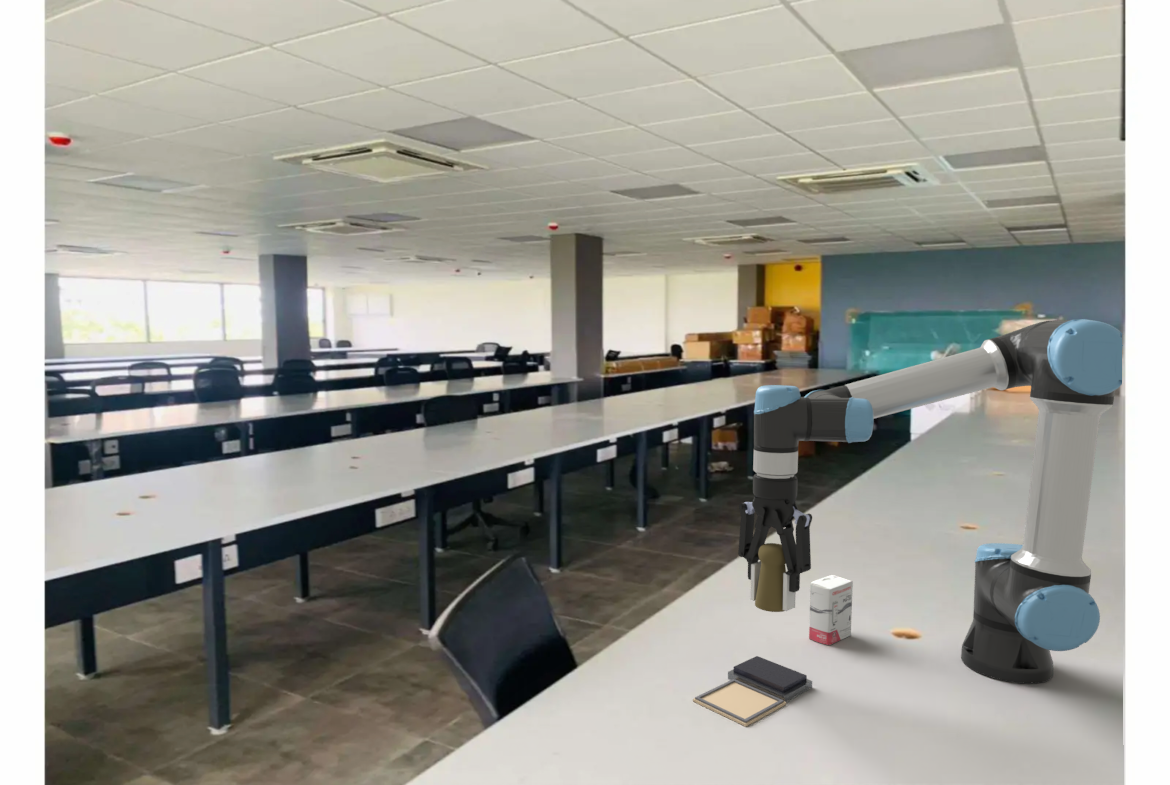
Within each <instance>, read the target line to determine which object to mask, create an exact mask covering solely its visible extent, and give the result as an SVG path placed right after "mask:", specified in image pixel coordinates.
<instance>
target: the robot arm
mask: <svg viewBox="0 0 1170 785" xmlns="http://www.w3.org/2000/svg"><path fill="white" fill-rule="evenodd" d="M1122 334H1123V332H1121V331H1120V330H1119V329H1118V328H1117V327H1115V326H1113V325H1112V324H1109V323H1106V322H1103V321H1099V320H1094V319H1093V320H1092V319H1087V318H1083V319H1082V318H1081V319H1080V318H1079V319H1067V320H1066V319H1062V320H1060V319H1059V320H1058V319H1057V320H1056V319H1055V320H1045V321H1039V322H1036V323H1033V324H1030V325H1027V326H1025V327H1024V326H1023V327H1022V328H1019V329H1017V330H1013V331H1011V332H1008V333H1005V334H1002V335H999V336H996V337H992V338H988V339H984V341H983V342H982V343H981V346H980V347H977V348H973V349H969V350H965V351H963V352H958V353H956V354H952V355H948V356H944V357H941V358H937V359H933V360H931V361H927V362H922V363H920V364H919V363H918V364H916V365H911V366H908V367H905V368H900V369H897V370H893V371H891V372H886V373H883V374H879V375H876V376H872V377H869V378H864V379H861V380H857V381H853V382H851V383H847V384H846V383H845V384H844V385H840V386H835V387H832V388H829V389H817V390H812V391H810V392H809V393H807V394H805V396H801V393H800V392H801V390H800V388H799V387H797V386H795V385H785V384H784V385H783V384H776V385H775V384H766V385H761V386H759V387H758V388H757V389H756V391H755V399H754V410H753V460H752V461H753V465H752V471H753V472H755V474H754V475H753V476H752V493H753V495H754V497H753V499H752V501H745V502H741V503H739V505H738V509H739V513H740V524H739V525H740V526H739V538H738V552H737V554H738V556H739V557H740V558H744V559H745V560H746V562H747V578H748V580H749V581H750V598H749V599H750V601H754V602H755V600H756V594H757V587H758V581H759V574H760V568H761V561H760V560H759V556H758V551H759V548H760V547H761V545H763V544H766V540H767V537H768V534H769V530H770V529H771V528H773V529H775V532H776V534H777V535H778V536H779V540H780V544H781V545H782V549H783V553H784V558H785V562H786V564H785V567H786V572H785V573H783V610H784V611H783V612H787V611H790V610H792V609H795V608H796V598H797V596H796V592H798V591H800V588H801V587H800V584H801V583H800V581H801V574H803V573H805V572H808V571H811V569H812V564H811V563H812V562H811V560H812V558H811V535H810V534H811V532H810V530H811V529H810V527H811V524H812V521H813V515H812V514H811V513H804V512H802V511H800V510H799V508H798V505H797V503H796V502H797V497H798V483H799V482H798V479H799V477H797V475H796V474H797V473H798V470H799V469H798V468H799V465H798V464H799V442H802V441H803V442H809V441H811V442H812V441H813V442H814V441H815V442H838V443H839V442H840V443H841V442H843V443H848V444H851V443H858V442H861V443H862V442H866V441H869V440H870V438H871V437H872V435H873V430H874V421H875V420H874V419H877V418H881V417H886V416H888V415H892V414H897V413H900V412H904V411H908V410H911V409H912V410H913V409H915V408H919V407H923V406H926V405H930V404H934V403H938V402H942V401H946V400H949V399H953V398H957V397H960V396H965V395H968V394H973V393H975V392H980V391H985V390H987V389H991V388H995V389H997V390H998V391H1006V390H1010V389H1013V388H1017V387H1018V388H1019V387H1030V394H1029V395H1030V396H1029V399H1030V401H1031V402H1032V403H1033V404H1035V406H1036V407H1037V409H1038V416H1037V424H1036V430H1035V438H1034V439H1035V440H1034V448H1033V456H1032V464H1031V475H1030V482H1029V490H1028V500H1027V507H1026V515H1025V516H1026V517H1025V523H1024V531H1023V540H1022V544H1019V543H1018V544H1016V543H1003V542H1001V543H1000V542H998V543H997V542H991V543H983V544H981V545H979V547H977V549H976V555H975V560H974V565H975V566H974V568H975V570H974V590H973V591H974V592H973V593H974V594H973V614H972V617H973V618H972V622H971V623H970V626H969V629H968V631H967V633H966V635H965V637H964V640H963V642H962V644H961V655H960V658H961V661H962V663H964V665H965V666H967V667H968V668H969V669H971V670H973V671H974V672H976V673H979V674H981V675H983V676H986V677H988V678H992V679H996V680H999V681H1005V682H1009V683H1010V682H1011V683H1014V684H1015V683H1017V684H1040V683H1045V682H1048V681H1049V680H1051V679H1052V678H1053V676H1054V661H1053V656H1052V655H1051V651H1052V652H1066V651H1071V650H1075V649H1077V648H1079V647H1080V646H1082V645H1083V644H1085V643H1088V642H1089V641H1090V640H1091V639H1092V637H1094V635H1095V634H1096V632H1097V631H1098V628H1099V626H1100V622H1101V620H1100V619H1101V613H1100V610H1099V607H1098V604H1097V603H1096V601H1095V598H1094V597H1092V595H1091V594H1090V587H1091V577H1092V570H1091V568H1090V567H1089V566H1088V565H1087V563H1086V562H1085V561H1084V560H1083V553H1084V545H1085V538H1086V537H1085V536H1086V528H1087V520H1088V515H1089V513H1088V512H1089V506H1090V497H1091V489H1092V483H1093V482H1092V481H1093V474H1094V473H1093V472H1094V465H1095V458H1096V457H1095V456H1096V451H1097V442H1098V433H1099V428H1100V427H1099V426H1100V420H1101V419H1100V418H1101V416H1102V414H1104V413H1105V412H1107V411H1108V410H1110V409H1111V408H1113V407H1114V400H1115V392H1116V390H1118V389H1119V388H1120V387H1121V386H1122V385H1123V384H1122V346H1123V345H1122ZM755 514H756V516H757V518H756V521H755ZM794 519H795V520H794ZM793 520H794V523H793ZM794 524H795V527H794ZM754 528H755V529H754ZM794 530H795V534H794Z"/></svg>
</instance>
